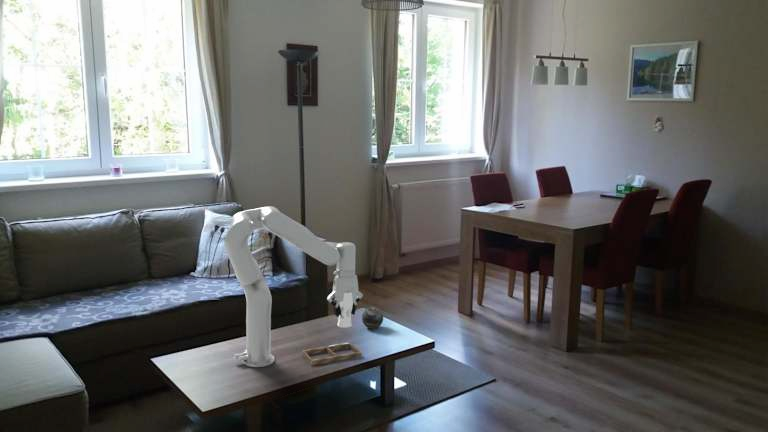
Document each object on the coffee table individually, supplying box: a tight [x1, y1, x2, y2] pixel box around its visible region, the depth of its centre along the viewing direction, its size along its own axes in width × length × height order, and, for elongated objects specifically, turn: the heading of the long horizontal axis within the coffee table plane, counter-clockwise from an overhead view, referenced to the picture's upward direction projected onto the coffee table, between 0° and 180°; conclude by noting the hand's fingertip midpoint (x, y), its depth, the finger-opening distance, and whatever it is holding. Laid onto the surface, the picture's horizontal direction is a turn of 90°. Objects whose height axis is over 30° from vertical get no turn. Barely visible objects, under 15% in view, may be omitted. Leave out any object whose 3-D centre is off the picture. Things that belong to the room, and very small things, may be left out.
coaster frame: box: [301, 342, 363, 366], centre depth 257 cm, size 22×11×2 cm, turn 118°
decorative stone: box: [361, 306, 384, 330], centre depth 289 cm, size 10×10×10 cm
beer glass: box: [336, 292, 354, 329], centre depth 256 cm, size 7×7×15 cm
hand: (344, 314), depth 256 cm, fingers closed on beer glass, 6 cm apart
